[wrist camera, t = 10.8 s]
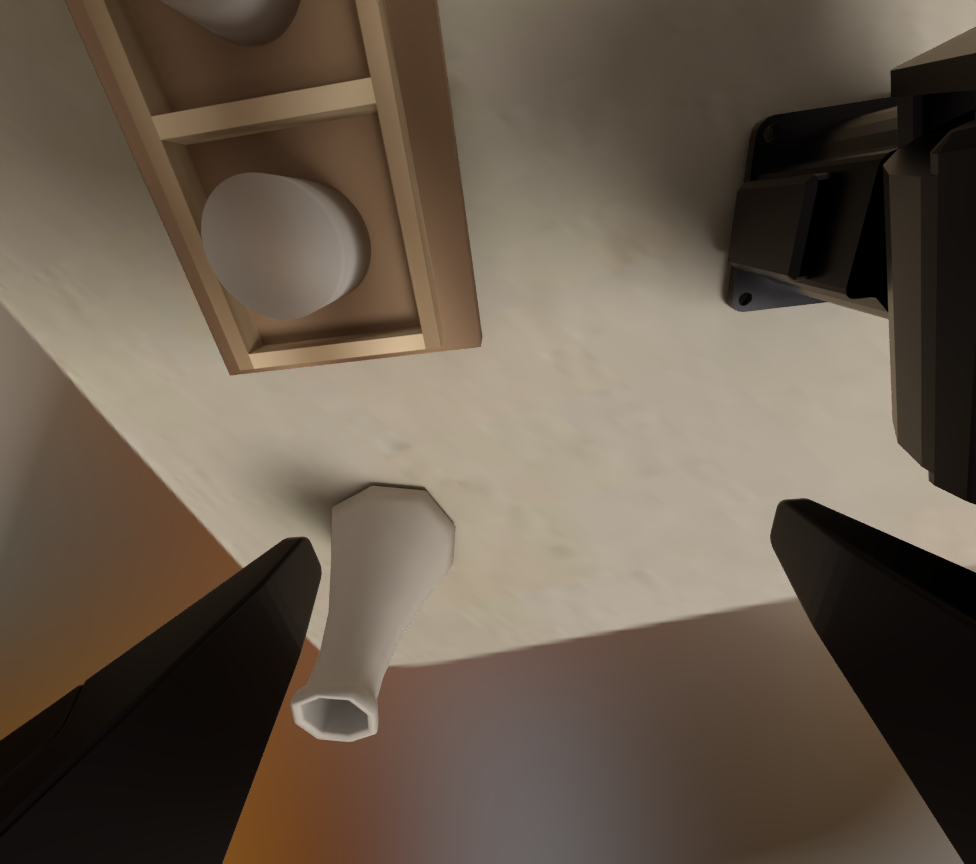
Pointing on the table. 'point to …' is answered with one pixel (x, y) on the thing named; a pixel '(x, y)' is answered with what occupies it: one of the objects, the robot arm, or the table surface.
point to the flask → (371, 603)
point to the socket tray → (298, 170)
